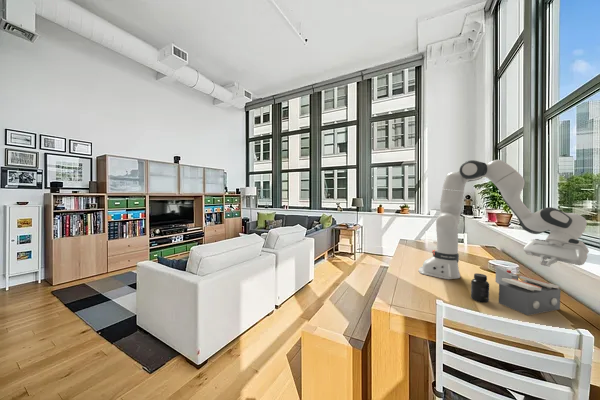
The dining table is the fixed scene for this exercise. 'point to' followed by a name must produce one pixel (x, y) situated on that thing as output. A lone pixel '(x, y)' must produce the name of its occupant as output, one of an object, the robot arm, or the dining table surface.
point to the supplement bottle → (480, 288)
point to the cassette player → (504, 274)
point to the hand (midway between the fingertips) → (544, 264)
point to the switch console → (529, 298)
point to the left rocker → (522, 284)
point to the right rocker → (539, 282)
